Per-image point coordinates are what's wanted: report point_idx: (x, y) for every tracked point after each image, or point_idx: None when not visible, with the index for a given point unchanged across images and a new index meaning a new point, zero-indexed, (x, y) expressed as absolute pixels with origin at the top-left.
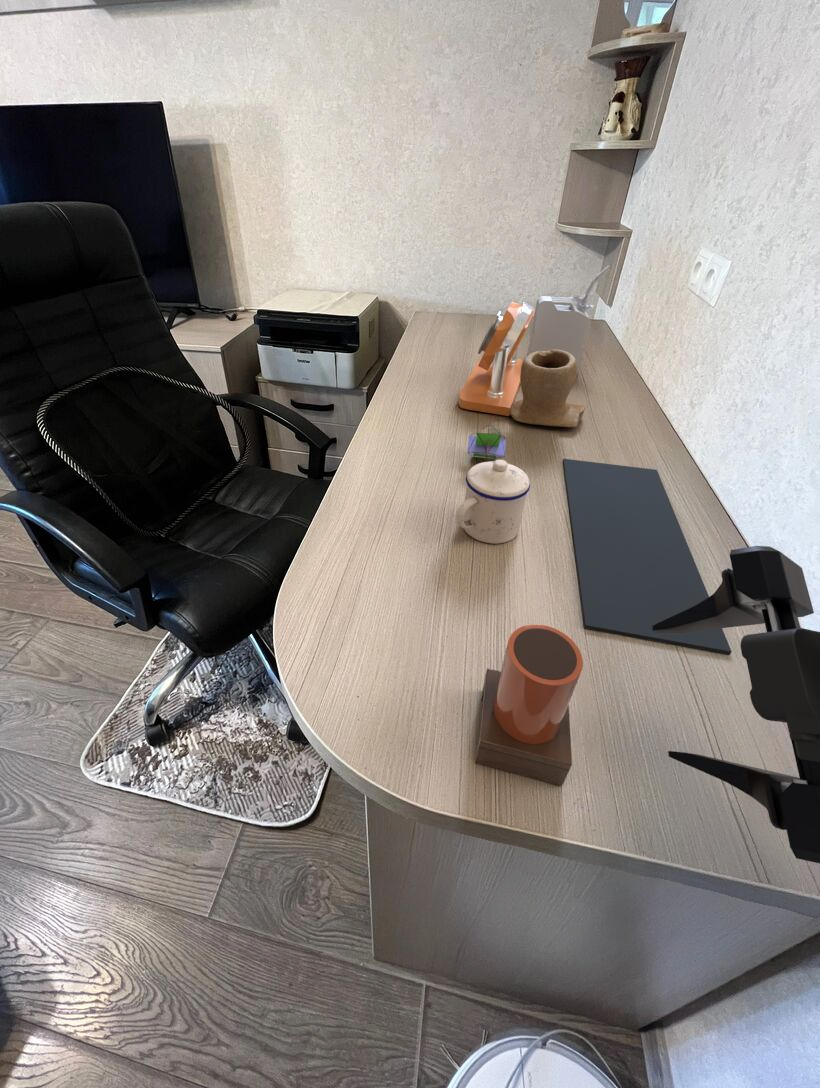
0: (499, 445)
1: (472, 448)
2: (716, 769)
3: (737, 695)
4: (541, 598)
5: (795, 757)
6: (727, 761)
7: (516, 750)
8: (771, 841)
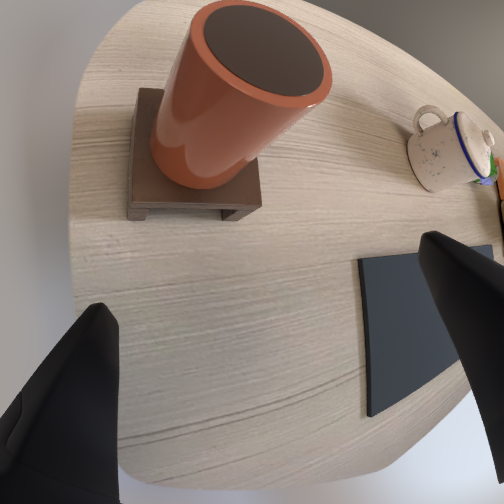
0: (487, 179)
1: None
2: (30, 396)
3: (324, 429)
4: (375, 209)
5: None
6: (103, 434)
7: (135, 128)
8: (158, 458)
